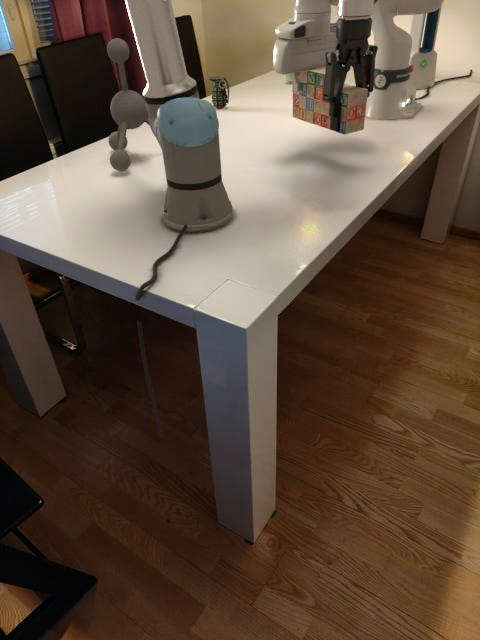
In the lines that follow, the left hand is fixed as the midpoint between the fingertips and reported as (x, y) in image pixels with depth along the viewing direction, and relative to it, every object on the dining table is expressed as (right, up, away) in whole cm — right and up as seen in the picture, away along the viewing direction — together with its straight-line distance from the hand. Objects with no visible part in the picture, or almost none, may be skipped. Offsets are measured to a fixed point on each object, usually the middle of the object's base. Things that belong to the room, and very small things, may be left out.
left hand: (345, 127), depth 119 cm
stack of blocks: (-4, +3, +5) cm, 7 cm away
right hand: (-8, +13, +6) cm, 16 cm away
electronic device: (+41, +43, +69) cm, 91 cm away
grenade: (-33, +30, +58) cm, 73 cm away
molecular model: (-53, 0, +21) cm, 57 cm away
